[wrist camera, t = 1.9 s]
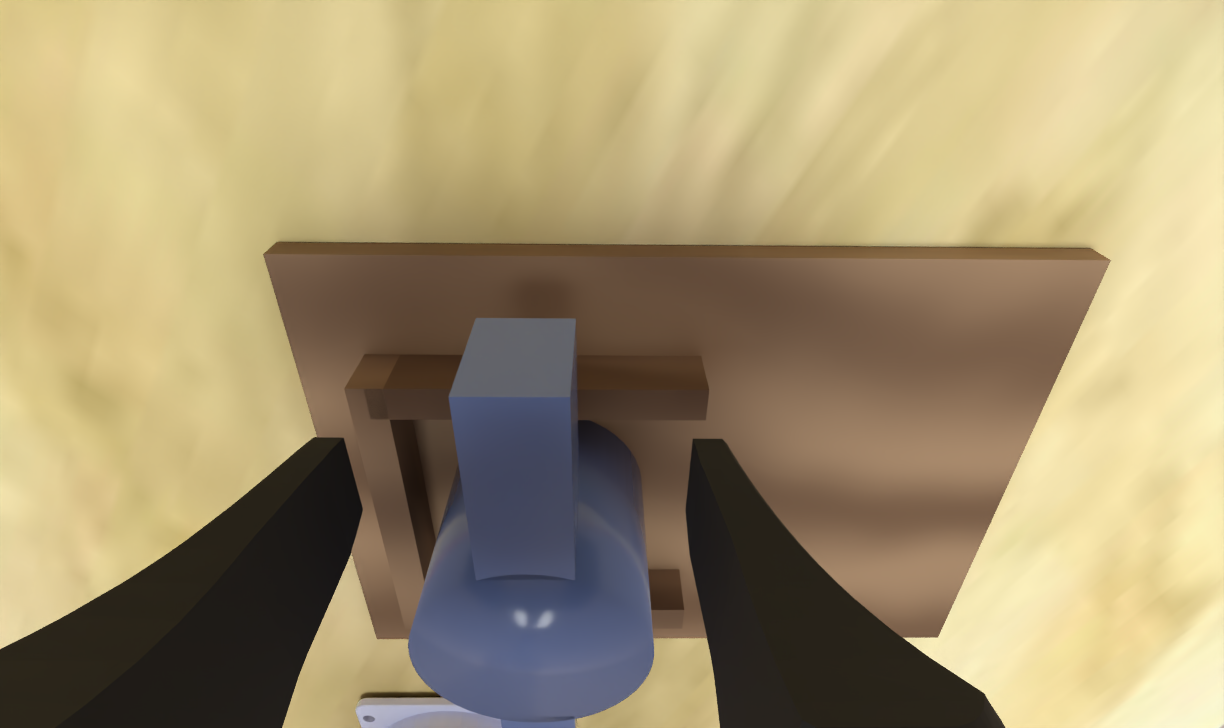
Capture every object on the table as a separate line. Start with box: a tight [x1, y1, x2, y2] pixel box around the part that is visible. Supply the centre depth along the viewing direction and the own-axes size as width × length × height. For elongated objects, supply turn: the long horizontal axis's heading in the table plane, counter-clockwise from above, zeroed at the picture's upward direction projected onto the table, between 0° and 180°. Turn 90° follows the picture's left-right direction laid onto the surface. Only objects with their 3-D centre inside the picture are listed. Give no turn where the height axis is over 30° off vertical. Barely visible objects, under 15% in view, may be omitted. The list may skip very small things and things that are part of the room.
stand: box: [263, 242, 1111, 639], centre depth 21 cm, size 16×22×2 cm
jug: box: [408, 318, 654, 728], centre depth 17 cm, size 12×6×6 cm, turn 179°
